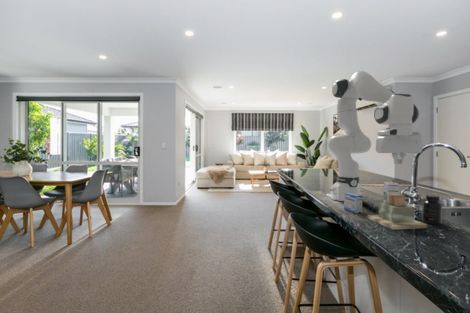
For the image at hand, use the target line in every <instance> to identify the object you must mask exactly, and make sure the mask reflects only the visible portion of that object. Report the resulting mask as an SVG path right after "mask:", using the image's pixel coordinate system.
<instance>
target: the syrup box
mask: <svg viewBox="0 0 470 313" xmlns="http://www.w3.org/2000/svg"><path fill="white" fill-rule="evenodd" d="M389 194H400V184H399V183H397V182H395V181H393V182H392V181H384V182H383V200H382V203H385V202H388V198H389Z"/></svg>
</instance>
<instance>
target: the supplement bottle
mask: <svg viewBox="0 0 470 313" xmlns="http://www.w3.org/2000/svg"><path fill="white" fill-rule="evenodd" d="M442 213H443V204H442V203H441V202H440V196H439V195H437V194H426V195H425V200H424V201H423V202H422V218H421V219H422V223H425V224H427V225H437V224H438V225H441V224H442V219H443V218H442V217H443V216H442V215H443V214H442Z"/></svg>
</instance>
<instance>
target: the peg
mask: <svg viewBox="0 0 470 313" xmlns="http://www.w3.org/2000/svg"><path fill="white" fill-rule="evenodd" d="M405 204H406V195H404V194H400V193H399V194H389V198H388V205H391V206H394V207H405Z"/></svg>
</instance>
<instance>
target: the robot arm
mask: <svg viewBox="0 0 470 313" xmlns="http://www.w3.org/2000/svg"><path fill="white" fill-rule="evenodd" d="M331 88H332V89H331V92H332V95H333V97H335V98H337V105H336V116H337V117H336V118H337V126H338V128H339V129H341V130H342V131H344V133H345V134H338V135H335V136H330V138H329V139H328V143H327V147H328V149H329V151H330V152H332V154H333V155H334V156H335V158H336V160H337V164H338V176H336V182H335V183H334V184H332V185H331V186H330V188H329V191H330V192H329V193H326V196H327V197H328V198H330V199H331V200H332V201H339V202H344V196H345V193H353V194H357V195H361V194H362V193H361V186H360V185H359V183H360V177H359V171H360V170H359V168H360V166H359V163H358V161H356V160H354V159H353V158H352V154H363V153H367V152H369V151H370V149H371V147H372V141H371V139H370V138H369V136H367V135H365V134H364V132H363V131H362V129H361V127H360V124H359V120H358V111H357V110H358V109H357V101H360V102H361V101H366V102H375V103H381V104H379V105H378V106H376V108H375V109H374V112H373V116H374V120H375V122H376V123H377V124H378V125H385V126H386V125H388V127H386V128H382V129H379V130H378V131H377V133H376V134H377V135H378V136H377V138H376V141H375V151H376V153H378V154H391V157H392V159H393V164H397V165H399V164H400V165H401V164H403V163H404V159H405V157H406V155H407V154H421V153H422V152H423V140H422V134H421V133H420V132H419V131H413V128H414V127H413V125H414V123H415V122H416V121H417V120H418V119H419V115H420V114H419V113H420V112H419V108H418V107H417V106H416V105H415V104H414V98H413V95H411V94H409V93H395V92H394V91H393V90H392V89H390V88H388V87H386V86H385V85H383V84H381V83H380V82H379V81H378V80H376V79H375V78H374V76H372V75H371V74H370V73H368V72H366V71H364V70H358V71H356V72H354V73H353V74H352V76H351V78H342V79H341V78H340V79H337V80H335V81H334V82H333V84H332V87H331ZM398 156H399V158H398ZM361 196H362V195H361Z"/></svg>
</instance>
